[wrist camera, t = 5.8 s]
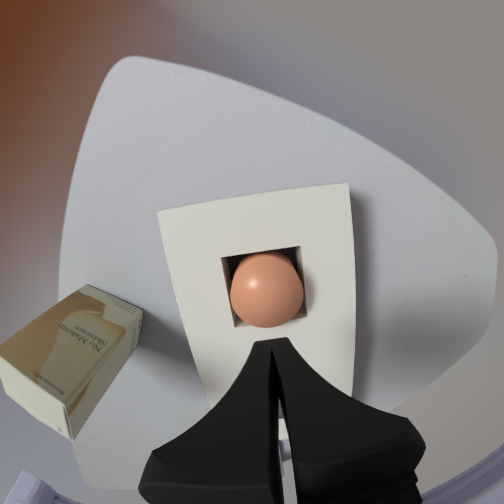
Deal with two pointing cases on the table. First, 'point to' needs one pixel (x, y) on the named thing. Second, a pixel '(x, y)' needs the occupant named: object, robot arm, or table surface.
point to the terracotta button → (266, 289)
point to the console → (256, 240)
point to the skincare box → (69, 357)
